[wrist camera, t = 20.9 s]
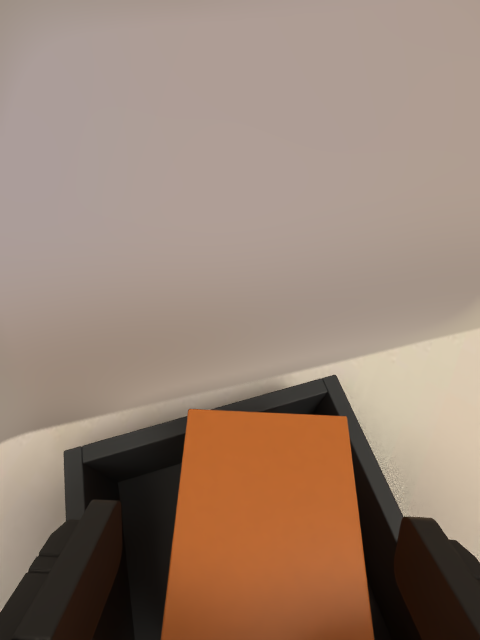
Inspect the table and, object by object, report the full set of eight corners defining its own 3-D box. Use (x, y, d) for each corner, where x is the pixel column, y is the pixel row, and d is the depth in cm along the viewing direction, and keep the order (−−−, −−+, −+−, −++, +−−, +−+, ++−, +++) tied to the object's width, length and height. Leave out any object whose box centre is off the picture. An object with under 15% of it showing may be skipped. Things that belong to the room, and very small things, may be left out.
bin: (138, 809, 15) (80, 976, 9) (107, 474, 22) (62, 450, 16) (418, 677, 17) (513, 745, 11) (310, 413, 24) (336, 373, 18)
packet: (191, 680, 16) (127, 904, 6) (208, 472, 21) (188, 408, 11) (298, 685, 16) (409, 917, 6) (291, 476, 21) (347, 415, 11)
